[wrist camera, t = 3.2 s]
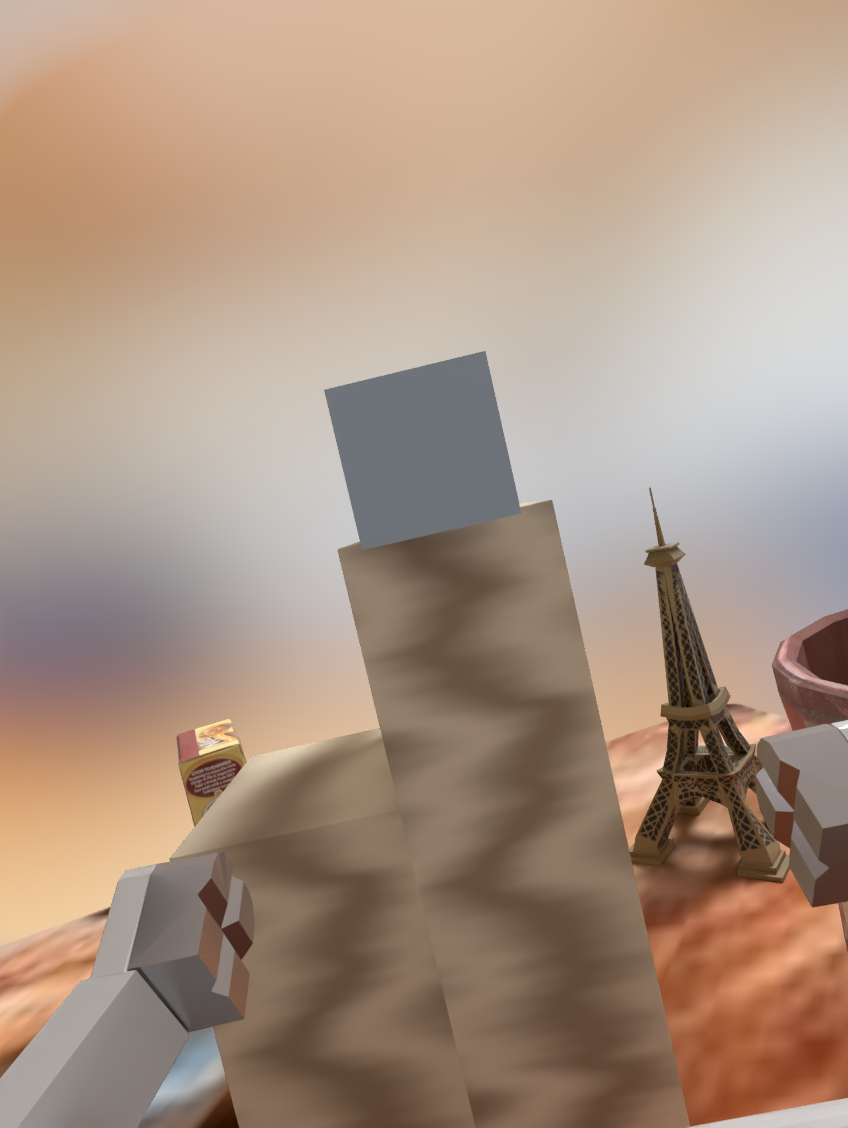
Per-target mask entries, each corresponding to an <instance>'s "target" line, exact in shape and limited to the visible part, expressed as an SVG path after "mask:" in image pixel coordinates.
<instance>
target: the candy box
mask: <svg viewBox="0 0 848 1128" xmlns="http://www.w3.org/2000/svg"><path fill="white" fill-rule="evenodd" d="M177 747H178V756H179V757H178V758H179V764H178V765H179V769H180V772H181V776H182V780H183V784H184V787H185V791H186V795H187V799H188V803H189V807H190V810H191V814H192V818H193V822H194V826H196V825H197V824H198V822H199V821H200V820H201V819H202V817H203V816H204V815H205V814H206V812H207V811H208V810H209V809H210V807H211V806H212V805H213V804H214V802H215V801H216V800H217V799H218V797H219V796H220V795H221V794H222V792H223V791H224V790H225V789H226V787H227V786H228V785H229V784H230V783H231V781H232V780H233V779H234V778H235V776H236V775H237V774H238V773H239V771H240V770H241V769H242V768H243V766H244V765H245V764H246V759H245V756H244V752H243V749H242V745H241V742H240V740H239V737H238V735H237V733H236V731H235V729H234V727H233V725H232V723H231V721H230V719H228V720H224V721H221V722H218V723H214V724H211V725H207V726H204V727H201V728H197V729H194V730H191V731H188V732H185V733H182V734H179V735H178V736H177Z"/></svg>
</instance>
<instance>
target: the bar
mask: <svg viewBox="0 0 848 1128" xmlns="http://www.w3.org/2000/svg"><path fill="white" fill-rule="evenodd" d="M325 395H326V399H327V403H328V408H329V412H330V416H331V421H332V424H333V429H334V433H335V437H336V442H337V446H338V450H339V454H340V458H341V462H342V467H343V471H344V475H345V480H346V484H347V488H348V492H349V496H350V501H351V505H352V509H353V513H354V518H355V522H356V526H357V530H358V534H359V539H360V543H361V547H362V550H365V549H370V548H374V547H378V546H383V545H387V544H391V543H396V542H400V541H404V540H409V539H413V538H417V537H422V536H426V535H430V534H435V533H439V532H443V531H448V530H452V529H456V528H461V527H465V526H469V525H474V524H478V523H482V522H487V521H491V520H495V519H500V518H504V517H508V516H513V515H517V514H521V509H520V505H519V500H518V496H517V491H516V487H515V482H514V478H513V474H512V469H511V465H510V460H509V456H508V451H507V447H506V442H505V438H504V433H503V429H502V424H501V420H500V415H499V411H498V406H497V402H496V397H495V393H494V388H493V384H492V379H491V375H490V370H489V366H488V361H487V357H486V352H485V351H484V352H479V353H475V354H471V355H467V356H463V357H458V358H454V359H450V360H446V361H442V362H438V363H434V364H429V365H426V366H421V367H417V368H413V369H409V370H405V371H400V372H396V373H392V374H388V375H384V376H380V377H376V378H372V379H368V380H364V381H359V382H355V383H351V384H347V385H343V386H338V387H335V388H330V389H326V390H325Z"/></svg>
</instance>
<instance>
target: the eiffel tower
mask: <svg viewBox="0 0 848 1128" xmlns="http://www.w3.org/2000/svg"><path fill="white" fill-rule="evenodd" d="M649 490H650V495H651V499H652V504H653V512H654V518H655V525H656V531H657V537H658V544H659V545H658V546H654V547H652V548H650V549H648V550H646V551H645V552H647V553H649V554H648V557H647V560H646V561H645V563H644V564H645V565H648V566H651V567H656V577H657V587H658V597H659V607H660V617H661V627H662V638H663V648H664V658H665V668H666V678H667V689H668V699H669V702H668V703H665V704H662V705H661V716H662V717H666V718H667V720H668V722H669V728H668V742H667V753H666V757H665V761H664V766H663V767H662V768H660V769H658V770H657V772H658V774H659V775H660V776H661V778H662V781H661V784H660V786H659V788H658V790H657V792H656V794H655V796H654V798H653V800H652V803H651V805H650V807H649V809H648V811H647V813H646V816H645V818H644V820H643V822H642V824H641V826H640V829H639V831H638V833H637V835H636V838H635V843H634V844H633V846H632V847H631V848H630V849H629V852H630V856H631V861H632V863H637V864H645V865H652V866H661V865H662V863H663V862H664V861H665V860H666V858H667V857H668V856H669V854H670V853H671V852H672V850H673V849H674V848H675V845H674V840H673V839H668V837H669V834H670V832H671V829H672V827H673V824H674V821H675V819H676V816H677V814H678V813H682V814H695V815H699V814H700V813H701V812H702V810H703V809H704V808H705V806H706V805H707V804H708V802H709V801H710V800H712V801H714V802H717V803H720V804H722V805H724V806H725V807H727V808H728V811H729V815H730V818H731V822H732V826H733V829H734V833H735V837H736V840H737V844H738V848H739V852H740V855H741V859H740V861H739V862H738V871H737V872H736V873H737V876H740V877H747V878H755V879H763V880H771V881H779V882H784V880H785V878H786V876H787V874H788V872H789V869H790V867H789V857H790V856H787V855H786V853H785V850H780V845H779V843H778V842H777V841H776V840H775V839H774V838H773V836H772V835H771V834H770V832H769V831H768V830H767V829H766V828H765V826H764V825H763V824H762V823H761V822H760V820H759V819H758V818H757V817H756V816H755V814H754V813H753V812H752V811H751V810H750V808H749V807H748V806H747V805H746V804H745V799H746V794H747V789H748V787H749V788H750V789H751V790H753V791H754V792H755V793H756V775H757V774H758V773H759V771H760V770H761V769H762V768H763V765H762V763H761V762H760V760H759V758H758V757H757V756H755V755H754V753H755V747H756V744H752V745H749V744H748V742H747V741H746V740H745V738H744V737H743V736H742V734H741V733H740V732H739V730H738V728H737V726H736V724H735V722H734V720H733V719H732V717H731V715H730V713H729V711H728V709H727V707H726V705H727V703H728V700H729V698H730V695H729V692H728V691H727V689H726V687H721V688H718V687H717V684H716V681H715V678H714V675H713V672H712V668H711V665H710V663H709V660H708V657H707V653H706V650H705V648H704V645H703V641H702V638H701V635H700V632H699V629H698V626H697V623H696V620H695V617H694V614H693V611H692V608H691V605H690V602H689V599H688V596H687V593H686V590H685V586H684V584H683V580H682V577H681V574H680V571H679V568H678V565H677V562H678V561H679V560H680V559H681V558H682V557H683V556H684V555H685V553H684V552H682V551H681V550H680V549H679V548H678V547H677V545H679V543H672V544H665V542H664V539H663V535H662V532H661V528H660V524H659V520H658V516H657V512H656V508H655V507H654V501H653V498H652V492H651V488H649ZM718 729H719V730H718ZM699 730H700V732H701V735H702V737H703V740H704V742H705V745H706V746H699V745H698V735H699ZM719 731H720V733H721V735H722V737H723V739H724V741H725V743H726V745H727V746H725V745H724V743H723V740H722V738H721V735H720V733H719Z"/></svg>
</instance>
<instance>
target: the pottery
mask: <svg viewBox="0 0 848 1128" xmlns="http://www.w3.org/2000/svg"><path fill="white" fill-rule="evenodd" d="M772 668H773V671H774V675H775V679H776V683H777V687H778V691H779V694H780V697H781V700H782V703H783V705H784V708H785V711H786V714H787V716H788V719H789V722H790V724H791V727H792V730H793V731H796V730H800V729H805V728H809V727H814V726H818V725H822V724H832V723H836V722H841V721H845V720H848V609H847V610H844V611H841V612H838V613H835V614H832V615H828V616H825V617H823V618H821V619H819V620H818V621H816V622H814V623H813V624H811V625H809V626H807V627H805V628H804V629H802V630H800V631H799V632H797V633H795V634H793V635H792V636H790V637H788V638H787V639H785V640H784V641H782V642H781V643H780V645H779V648H778V650H777V653H776V655H775V658H774V661H773V663H772ZM838 904H839V910H840V915H841V920H842V926H843V931H844V937H845V941H846V946H847V950H848V901H847V902H841V903H838Z"/></svg>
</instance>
